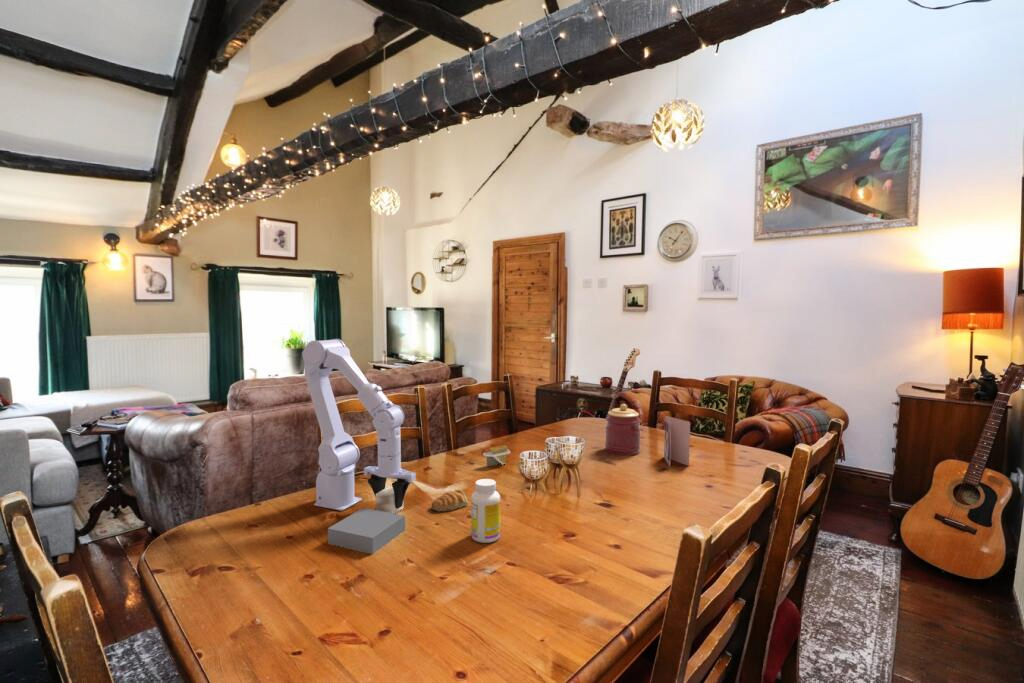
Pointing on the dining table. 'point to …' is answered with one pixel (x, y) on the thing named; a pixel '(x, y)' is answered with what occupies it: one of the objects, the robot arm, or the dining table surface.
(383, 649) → the dining table surface
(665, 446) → the greeting card
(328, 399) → the robot arm
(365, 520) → the gray panel
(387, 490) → the cream block
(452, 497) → the pastry
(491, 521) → the supplement bottle
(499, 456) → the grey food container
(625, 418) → the canister
